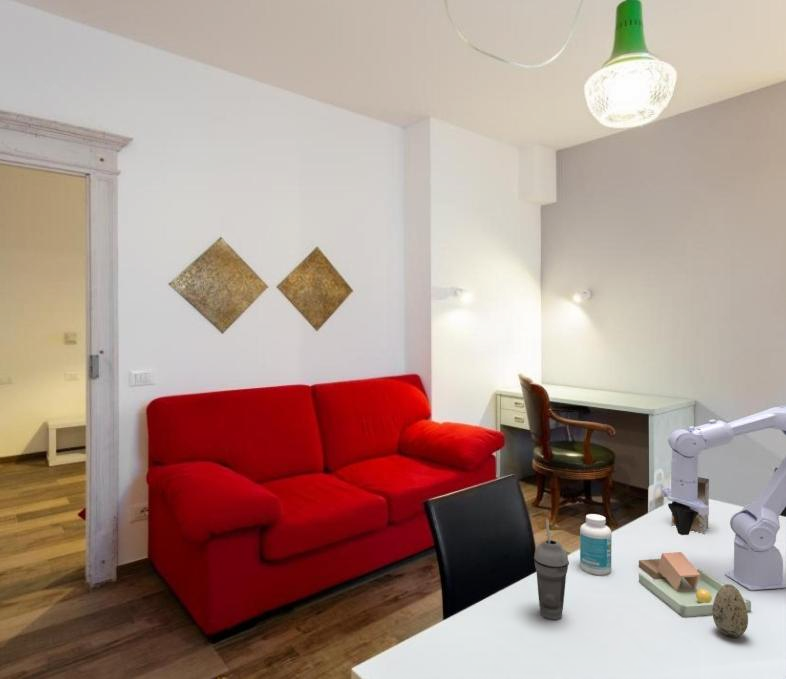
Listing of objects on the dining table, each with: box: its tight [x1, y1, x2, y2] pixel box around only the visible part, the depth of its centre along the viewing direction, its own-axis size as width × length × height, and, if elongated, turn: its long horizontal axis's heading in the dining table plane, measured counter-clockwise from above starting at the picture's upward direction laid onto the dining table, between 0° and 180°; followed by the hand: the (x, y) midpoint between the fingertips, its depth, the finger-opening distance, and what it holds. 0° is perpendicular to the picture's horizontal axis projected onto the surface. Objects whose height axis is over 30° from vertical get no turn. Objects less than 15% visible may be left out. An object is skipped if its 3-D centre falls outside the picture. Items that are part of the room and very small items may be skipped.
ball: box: [696, 589, 712, 603], centre depth 114 cm, size 3×3×3 cm
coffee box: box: [671, 476, 710, 535], centre depth 157 cm, size 9×6×16 cm
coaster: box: [638, 558, 684, 580], centre depth 129 cm, size 7×7×2 cm
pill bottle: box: [579, 513, 612, 576], centre depth 131 cm, size 8×7×14 cm
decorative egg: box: [712, 583, 749, 638], centre depth 103 cm, size 6×6×10 cm
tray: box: [638, 568, 752, 618], centre depth 118 cm, size 16×16×2 cm
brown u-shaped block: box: [658, 551, 700, 591], centre depth 122 cm, size 5×5×7 cm
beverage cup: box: [533, 518, 570, 620], centre depth 111 cm, size 7×7×20 cm
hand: (683, 534), depth 128 cm, fingers closed
